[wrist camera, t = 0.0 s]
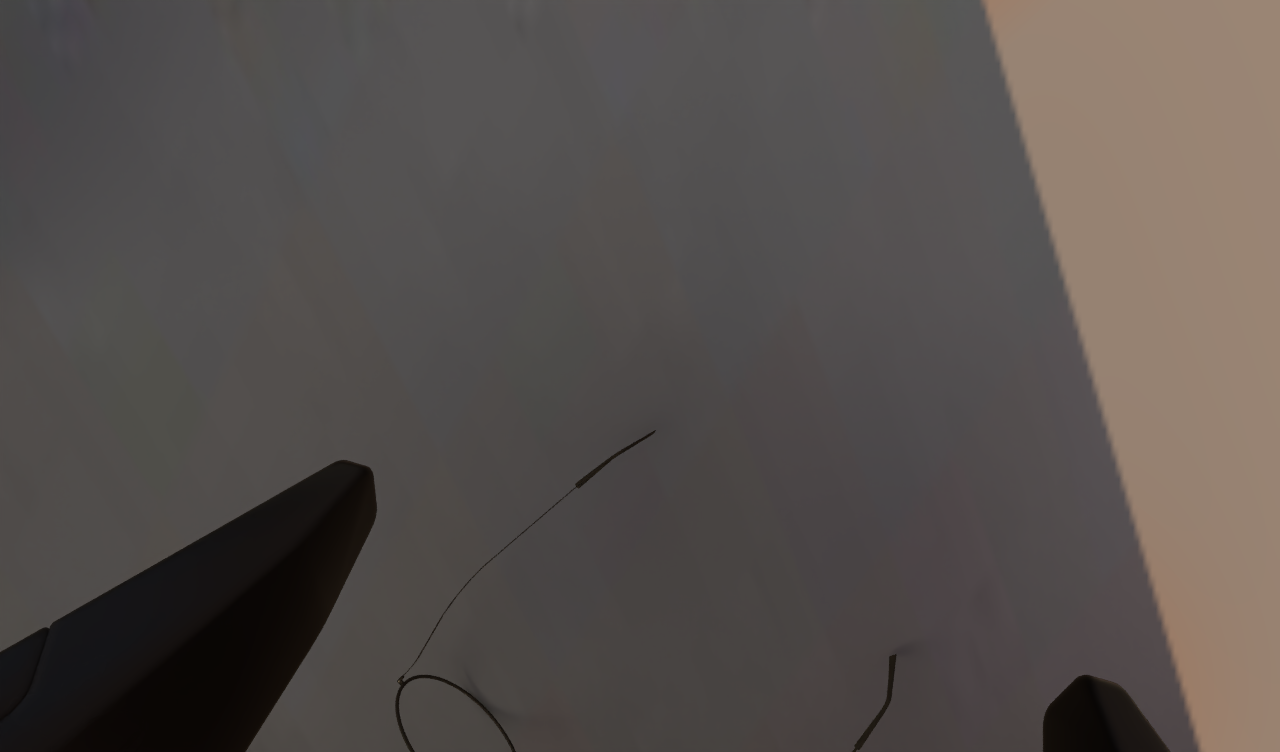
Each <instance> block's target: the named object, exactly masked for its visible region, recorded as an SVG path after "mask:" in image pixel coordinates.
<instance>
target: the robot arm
mask: <svg viewBox="0 0 1280 752" xmlns="http://www.w3.org/2000/svg"><path fill="white" fill-rule="evenodd" d="M376 513H377V503H376V494H375V485H374V476H373V472H372V470H371V469H370V468H369V467H367V466H365V465H361V464H358V463H354V462H351V461H347V460H340V461H336V462H334V463H332V464H330V465H329V466H327V467H325V468H323V469H322V470H320V471H318V472H316V473H315V474H313V475H311V476H309V477H308V478H306V479H304V480H302V481H301V482H299V483H297V484H295V485H294V486H292V487H290V488H288V489H287V490H285V491H283V492H281V493H280V494H278V495H276V496H274V497H272V498H271V499H269V500H267V501H265V502H264V503H262V504H260V505H258V506H257V507H255V508H253V509H251V510H250V511H248V512H246V513H244V514H243V515H241V516H239V517H237V518H236V519H234V520H232V521H230V522H229V523H227V524H225V525H223V526H222V527H220V528H218V529H216V530H215V531H213V532H211V533H209V534H208V535H206V536H204V537H202V538H200V539H199V540H197V541H195V542H193V543H192V544H190V545H188V546H186V547H185V548H183V549H181V550H179V551H178V552H176V553H174V554H172V555H171V556H169V557H167V558H165V559H164V560H162V561H160V562H158V563H157V564H155V565H153V566H151V567H150V568H148V569H146V570H144V571H143V572H141V573H139V574H137V575H136V576H134V577H132V578H130V579H128V580H127V581H125V582H123V583H121V584H120V585H118V586H116V587H114V588H113V589H111V590H109V591H107V592H106V593H104V594H102V595H100V596H99V597H97V598H95V599H93V600H92V601H90V602H88V603H86V604H85V605H83V606H81V607H79V608H78V609H76V610H74V611H72V612H71V613H69V614H67V615H65V616H64V617H62V618H60V619H58V620H56V621H55V622H53V623H52V624H51V626H50V629H49V628H46V627H45V628H42V629H40V630H38V631H37V632H35V633H33V634H31V635H30V636H28V637H26V638H24V639H23V640H21V641H19V642H17V643H16V644H14V645H12V646H10V647H9V648H7V649H5V650H3V651H1V652H0V752H246V750H247V749H248V747H249V745H250V744H251V742H252V741H253V739H254V738H255V736H256V734H257V733H258V731H259V730H260V728H261V726H262V725H263V723H264V722H265V720H266V718H267V717H268V715H269V714H270V712H271V711H272V709H273V707H274V706H275V704H276V703H277V701H278V699H279V698H280V696H281V695H282V693H283V691H284V690H285V688H286V687H287V685H288V683H289V682H290V680H291V679H292V677H293V676H294V674H295V672H296V671H297V669H298V668H299V666H300V664H301V663H302V661H303V660H304V658H305V656H306V655H307V653H308V652H309V650H310V649H311V647H312V645H313V644H314V642H315V640H316V639H317V637H318V635H319V633H320V632H321V630H322V628H323V626H324V624H325V623H326V621H327V619H328V617H329V615H330V613H331V611H332V609H333V607H334V605H335V603H336V601H337V598H338V596H339V594H340V592H341V590H342V588H343V586H344V584H345V582H346V580H347V578H348V576H349V574H350V572H351V570H352V568H353V566H354V563H355V561H356V559H357V557H358V555H359V553H360V551H361V549H362V547H363V545H364V543H365V541H366V539H367V537H368V535H369V533H370V531H371V528H372V526H373V524H374V521H375V518H376ZM1043 752H1170V750H1169V749H1168V748H1167V746H1166V745H1165V744H1164V742H1163V741H1162V739H1161V738H1160V737H1159V735H1158V734H1157V733H1156V731H1155V730H1154V729H1153V727H1152V726H1151V725H1150V723H1149V722H1148V720H1147V719H1146V718H1145V716H1144V715H1143V714H1142V712H1141V711H1140V710H1139V708H1138V707H1137V705H1136V704H1135V703H1134V701H1133V700H1132V699H1131V697H1130V696H1129V695H1128V693H1127V692H1126V691H1125V690H1124V689H1123V688H1122V687H1121V686H1119V685H1118V684H1116V683H1114V682H1111V681H1107V680H1104V679H1100V678H1097V677H1094V676H1090V675H1082V676H1079V677H1077V678H1076V679H1075V680H1074V681H1073V682H1072V683H1071V684H1070V685H1069V686H1068V687H1067V688H1066V689H1065V690H1064V691H1063V692H1062V693H1061V694H1060V695H1059V696H1058V697H1057V698H1056V699H1055V700H1054V701H1053V702H1052V703H1051V704H1050V705H1049V707H1048V708H1047V710H1046V713H1045V716H1044V721H1043Z"/></svg>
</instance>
